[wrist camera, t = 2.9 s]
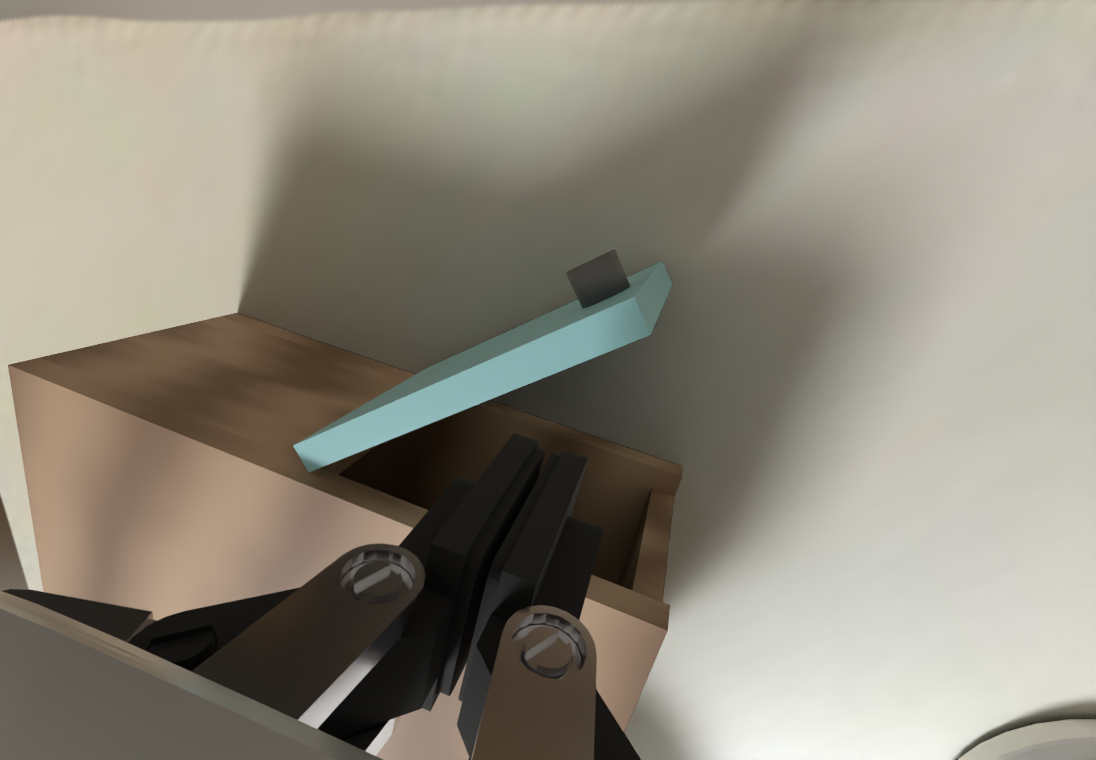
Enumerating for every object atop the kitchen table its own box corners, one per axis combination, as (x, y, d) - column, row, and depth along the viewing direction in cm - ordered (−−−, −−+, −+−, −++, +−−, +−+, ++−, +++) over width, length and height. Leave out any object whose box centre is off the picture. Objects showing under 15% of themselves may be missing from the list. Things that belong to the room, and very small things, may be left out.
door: (650, 232, 21) (613, 249, 12) (672, 284, 21) (650, 334, 13) (416, 344, 25) (273, 412, 17) (437, 385, 25) (308, 472, 17)
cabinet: (682, 466, 24) (667, 630, 15) (609, 657, 28) (562, 876, 19) (236, 313, 28) (8, 365, 19) (233, 499, 32) (47, 615, 23)
